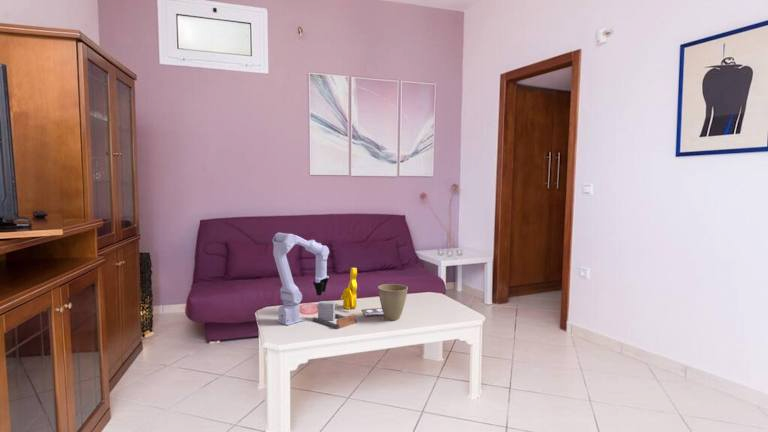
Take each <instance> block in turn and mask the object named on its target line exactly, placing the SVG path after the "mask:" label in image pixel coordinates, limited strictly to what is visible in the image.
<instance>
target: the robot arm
mask: <svg viewBox="0 0 768 432" xmlns="http://www.w3.org/2000/svg"><path fill="white" fill-rule="evenodd" d="M271 241H272V244H273V250H272V251H273V253H272V255H273V257H274V261H275V265H276V268H277V271H278V275H279V278H280V282H281V284H282V287H281V288H280V289H279V291H280V300H281V301H282V303H283V304H282V305H281V306H280V305H279V308H278V320H277V323H280V324H283V325H286V326H289V325H294V324H296V323H300V322H303V319H301V318H300V303H301V302H302V300H303V294H302V292H301V291H300V289H299V287H298V286H297V284H295V282H294V278H293V275H292V272H291V267H290V265H289V264H290V263H289V260H288V259H287V258H288V257H287V254H288V253H289V252H290V251H291V249H292V248H293V247H294V246H296V245H299V246H301V247H304V248H305V249H304V250H305V251H307V252H310V253H312V254H314V256H315V277H314V278H315V281H313V282H312V283H313V287H315V288H314V289H315V292H316V296H322V293H326V289H327V284H328V281H329V280H330V278H329V275H327V271H328V269H327V268H328V267H327V266H328V262H327V261H328V259H329V255H330V250H329V247H328V246H327V245H322V243H321V242H317V241H316V240H315V239H309V240H307V239H304V238H303V237H301V236H298V235H297V234H293V233H285V232H277V233H275V234H274V236H273V237H272V240H271Z"/></svg>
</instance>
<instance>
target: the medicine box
mask: <svg viewBox="0 0 768 432" xmlns="http://www.w3.org/2000/svg"><path fill="white" fill-rule="evenodd" d="M335 314H336V301H333V300H332V301H331V300H329V301H327V300H326V301H325V300H321V301H319V302H318V303H317V318H319V319H322V320H325V321H330V322H331V321H332V322H333V321H335V319H336V317H335Z"/></svg>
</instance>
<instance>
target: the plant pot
mask: <svg viewBox="0 0 768 432" xmlns="http://www.w3.org/2000/svg"><path fill="white" fill-rule="evenodd" d="M377 287H378V289H377V290H378V297H379V301H380V305H381V306H380V307H381V309H382V312H383V316H384V318H385V319H386V320H388V321H398V320H399V319H400V318H401V315H402V313H403V310H404V307H405V303H406V300H407V295H408V290H409V288H408V286H406V285H404V284H397V283H385V284H381V285H378V286H377Z"/></svg>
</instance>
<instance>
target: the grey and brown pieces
mask: <svg viewBox="0 0 768 432" xmlns="http://www.w3.org/2000/svg"><path fill="white" fill-rule="evenodd" d="M356 316H357V315H356V314H351V315H347V316H345V315H342V314H339V313H335V319H336V318H337V319H336V320H335V321H336V323H335V322H331V321H329V320H322V319H319V318H318V317H313V318H312V321H313V322H316V323H319V324H321V325H325V326H328V327H330V328H334V329H337V330H339V329H341V328H345V327H348V326H351V325H352V326H353V325H354V324H357V323H358V322H357V321H358V320H357V317H356Z"/></svg>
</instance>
